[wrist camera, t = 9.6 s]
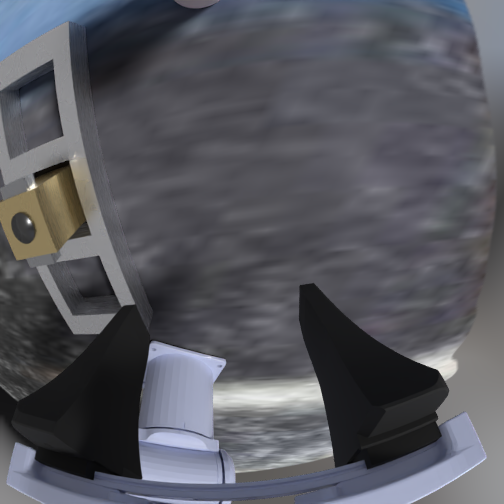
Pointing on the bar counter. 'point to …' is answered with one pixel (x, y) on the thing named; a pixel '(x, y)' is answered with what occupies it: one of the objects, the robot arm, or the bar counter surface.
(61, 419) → the robot arm
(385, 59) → the bar counter surface
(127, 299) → the rail
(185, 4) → the smoothie
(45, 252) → the drilled wooden block
